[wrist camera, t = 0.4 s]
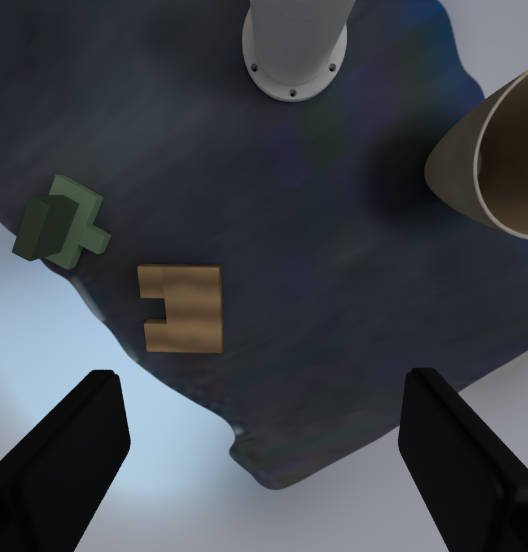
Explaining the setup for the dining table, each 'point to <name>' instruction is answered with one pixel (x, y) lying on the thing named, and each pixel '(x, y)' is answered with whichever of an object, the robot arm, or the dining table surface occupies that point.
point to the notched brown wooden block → (184, 307)
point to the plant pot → (487, 161)
